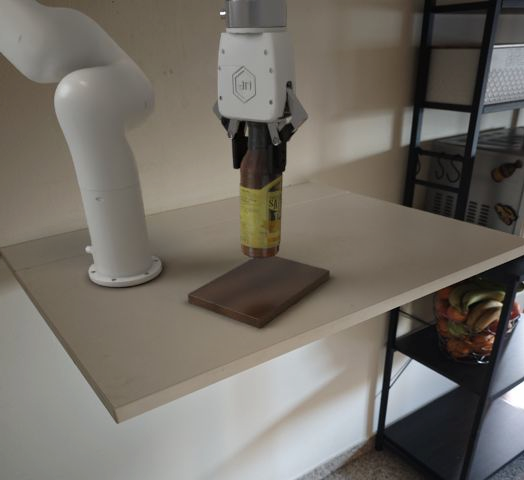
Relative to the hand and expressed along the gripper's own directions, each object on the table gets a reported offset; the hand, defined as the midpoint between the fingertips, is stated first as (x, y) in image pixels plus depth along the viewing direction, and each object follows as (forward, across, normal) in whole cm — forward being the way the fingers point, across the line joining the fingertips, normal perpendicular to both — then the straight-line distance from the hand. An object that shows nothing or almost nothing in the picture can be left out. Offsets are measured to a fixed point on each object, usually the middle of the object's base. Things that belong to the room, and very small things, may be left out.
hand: (259, 168), depth 71 cm
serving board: (+19, 0, 0) cm, 19 cm away
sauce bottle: (+13, 0, 0) cm, 13 cm away
